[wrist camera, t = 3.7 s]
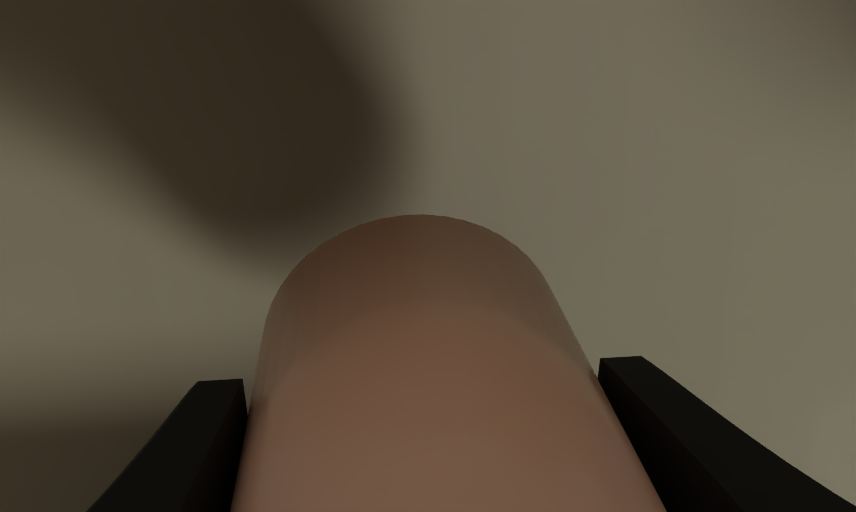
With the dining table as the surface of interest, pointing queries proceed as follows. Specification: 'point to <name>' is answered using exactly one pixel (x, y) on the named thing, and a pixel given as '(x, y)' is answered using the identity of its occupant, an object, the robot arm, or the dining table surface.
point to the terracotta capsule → (429, 385)
